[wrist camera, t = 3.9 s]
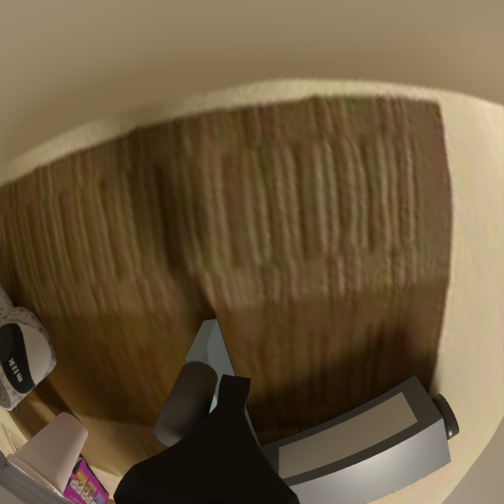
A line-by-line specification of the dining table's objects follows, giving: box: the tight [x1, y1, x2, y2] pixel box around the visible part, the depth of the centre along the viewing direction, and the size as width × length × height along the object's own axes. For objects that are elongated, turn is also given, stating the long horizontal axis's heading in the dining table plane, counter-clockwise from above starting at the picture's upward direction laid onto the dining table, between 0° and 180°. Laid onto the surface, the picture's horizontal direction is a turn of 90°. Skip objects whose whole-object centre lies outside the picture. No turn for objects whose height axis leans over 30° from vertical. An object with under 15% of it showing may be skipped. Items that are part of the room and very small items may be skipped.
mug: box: [0, 284, 57, 411], centre depth 15 cm, size 10×7×7 cm
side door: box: [154, 319, 260, 447], centre depth 14 cm, size 12×2×8 cm, turn 13°
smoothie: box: [6, 412, 88, 498], centre depth 14 cm, size 6×6×14 cm
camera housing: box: [260, 375, 459, 504], centre depth 16 cm, size 15×8×5 cm, turn 122°
